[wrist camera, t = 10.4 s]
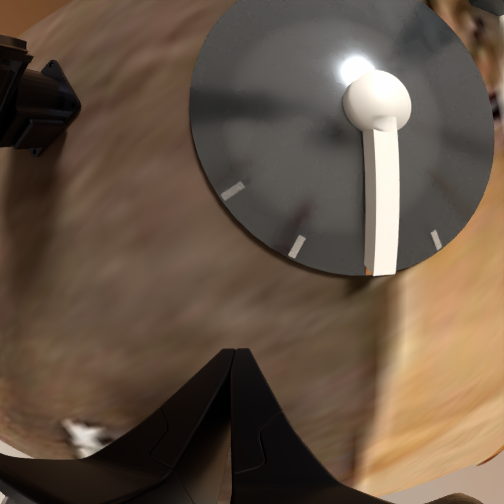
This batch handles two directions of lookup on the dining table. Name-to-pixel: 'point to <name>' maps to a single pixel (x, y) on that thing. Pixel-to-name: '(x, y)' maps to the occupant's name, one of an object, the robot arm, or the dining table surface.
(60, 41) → the dining table surface
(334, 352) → the dining table surface
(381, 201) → the dial pointer
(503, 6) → the watch
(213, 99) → the dial face
